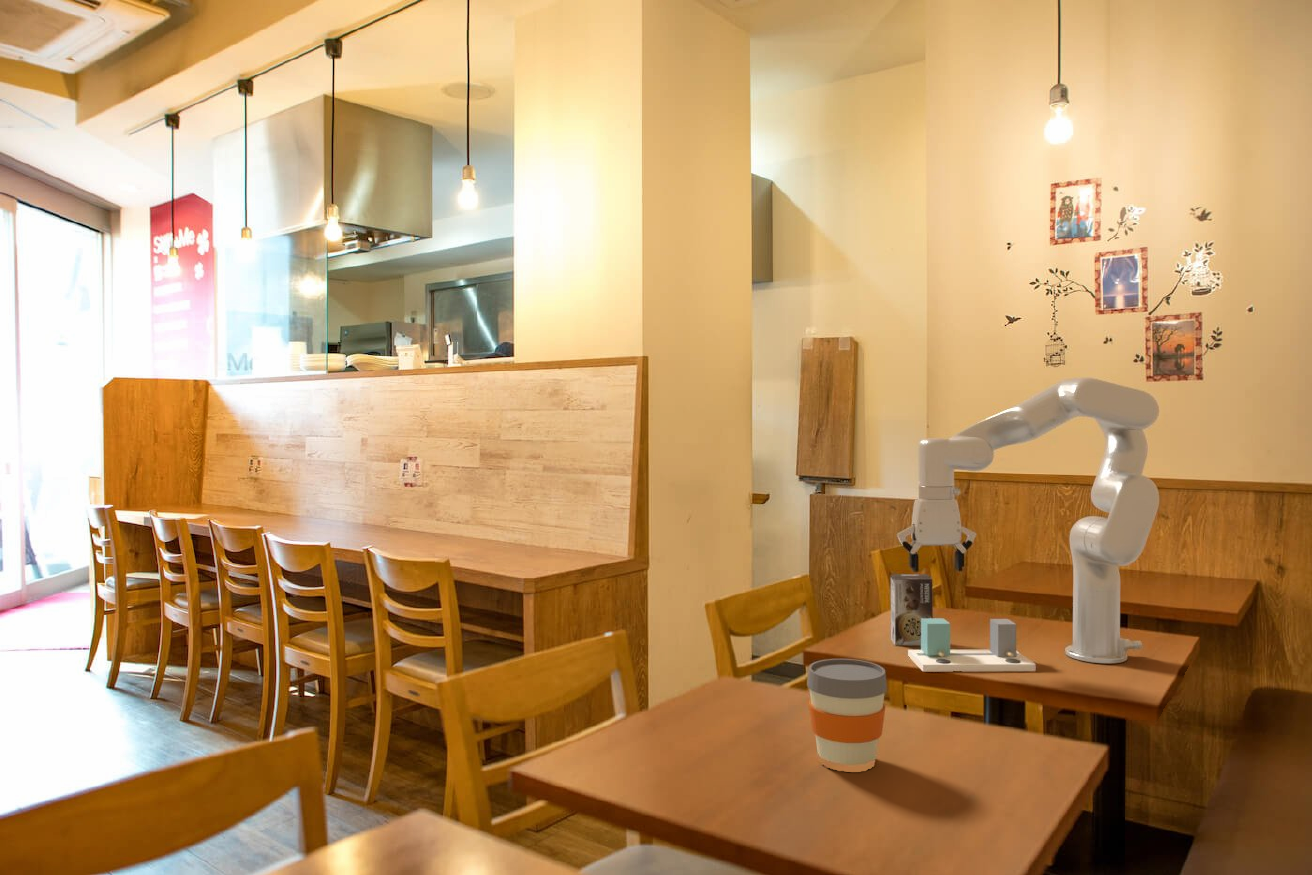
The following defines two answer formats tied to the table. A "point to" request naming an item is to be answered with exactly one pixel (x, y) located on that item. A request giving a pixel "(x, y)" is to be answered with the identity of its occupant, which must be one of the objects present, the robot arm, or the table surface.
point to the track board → (980, 654)
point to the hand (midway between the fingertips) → (936, 570)
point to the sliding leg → (935, 636)
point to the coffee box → (910, 607)
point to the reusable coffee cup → (847, 709)
